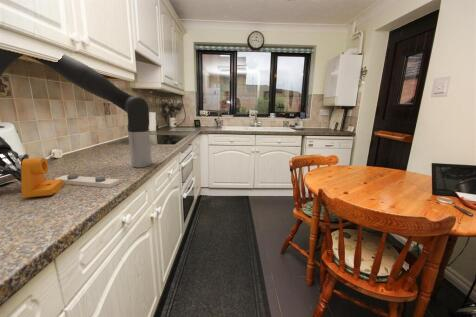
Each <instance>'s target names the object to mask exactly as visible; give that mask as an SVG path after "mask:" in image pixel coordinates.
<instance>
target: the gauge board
mask: <svg viewBox="0 0 476 317" xmlns="http://www.w3.org/2000/svg"><path fill="white" fill-rule="evenodd" d="M56 179H62V180H63V185H74V186H84V187H85V186H86V187H98V188H108V189H111V188H114V187H115V186H118V185H119V184H120V183H121V182H120V179H115V178H106V177H105V176H97V177H96V176H95V177H93V176H81V175H80V176H79V175H78V174H65V175H61V176H58V177H55V178H52V180H56Z"/></svg>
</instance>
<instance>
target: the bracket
mask: <svg viewBox="0 0 476 317" xmlns="http://www.w3.org/2000/svg"><path fill="white" fill-rule="evenodd" d="M20 164H21V163H20ZM48 172H49V163H48V160H47V158H45V157H35V158H28V159H24V160H23V161H22V164H21V181H20V182H21V195H22V196H21V197H22V198H24V199H25V198H34V197H44V196H51V195H56V194H57V193H59V191H61V190H62V189H63V185H64V184H63V180H62V179H56V180H53V179H49V180H48V179H46V177H45V174H47V173H48Z"/></svg>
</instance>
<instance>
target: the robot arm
mask: <svg viewBox="0 0 476 317" xmlns="http://www.w3.org/2000/svg"><path fill="white" fill-rule="evenodd" d="M63 54H64V55H63V56H62V58H61V59H60V60H58V62H52V61H47V60H43V59H38V58H34V57H30V56H27V57H28V58H31V59H33V60H35V61H36V62H39V63H41V64H43V65H45V66H47V67H48V68H50V69H51V70H53V71H54V72H56V73H57V74H59V75H60V76H62V77H63V78H64V79H66V80H67V81H69V82H70V83H72V84H74V85H76V86H77V87H79V88H81V89H82V90H85V91H87V92H88V93H90V94H92V95H94V96H97V97H98V98H101V99H103V100H105V101H108V102H109V103H112V104H114V106H116V107H118V108H120V109H121V110H123V111H124V112H125V113H127V135H128V145H129V146H128V147H129V155H130V156H129V157H130V166H131V167H132V168H146V167H150V166H151V165H152V163H153V162H152V159H153V158H152V147H151V144H150V143H151V142H150V141H151V140H150V132H149V130H150V129H149V128H150V110H149V104H148V102H147V101H146V100H145V99H144V98H142V97H140V96H134V95H132V94H130V93H127V92H125V91H124V90H122V89H120V88H119V87H117V86H116V85H115V84H114V83H113V82H111V81H110V79H108V78H107V77H105V76H104V75H103V74H101V73H100V72H98V71H97V70H95V69H93V68H92V67H90V66H89V65H87V64H85V63H83V62H81V61H80V60H77V59H76V58H74V57H71V56H70V55H67V54H65V53H63ZM22 56H24V55H23V54H19V53H15V52H11V51H6V50H2V49H0V78H1V77H2V75H3V74H4V72H5V71H6V70H7V68H9V67H10V66H11V65H12V64H13V63H14V62H15V61H16V60H18V59H19V58H21V57H22ZM24 159H29V154H27V153H25V154H19V153H18V152H16V151H14V150H13V148H12V146H11V145H10V144H9V143H8V142H7V141H6V140H5V139H3V138H2V136H0V175H1V176H7V175H11V176H13V177H14V178H15V179H16V180H17V181H18V182H21V164H22V161H23V160H24Z"/></svg>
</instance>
